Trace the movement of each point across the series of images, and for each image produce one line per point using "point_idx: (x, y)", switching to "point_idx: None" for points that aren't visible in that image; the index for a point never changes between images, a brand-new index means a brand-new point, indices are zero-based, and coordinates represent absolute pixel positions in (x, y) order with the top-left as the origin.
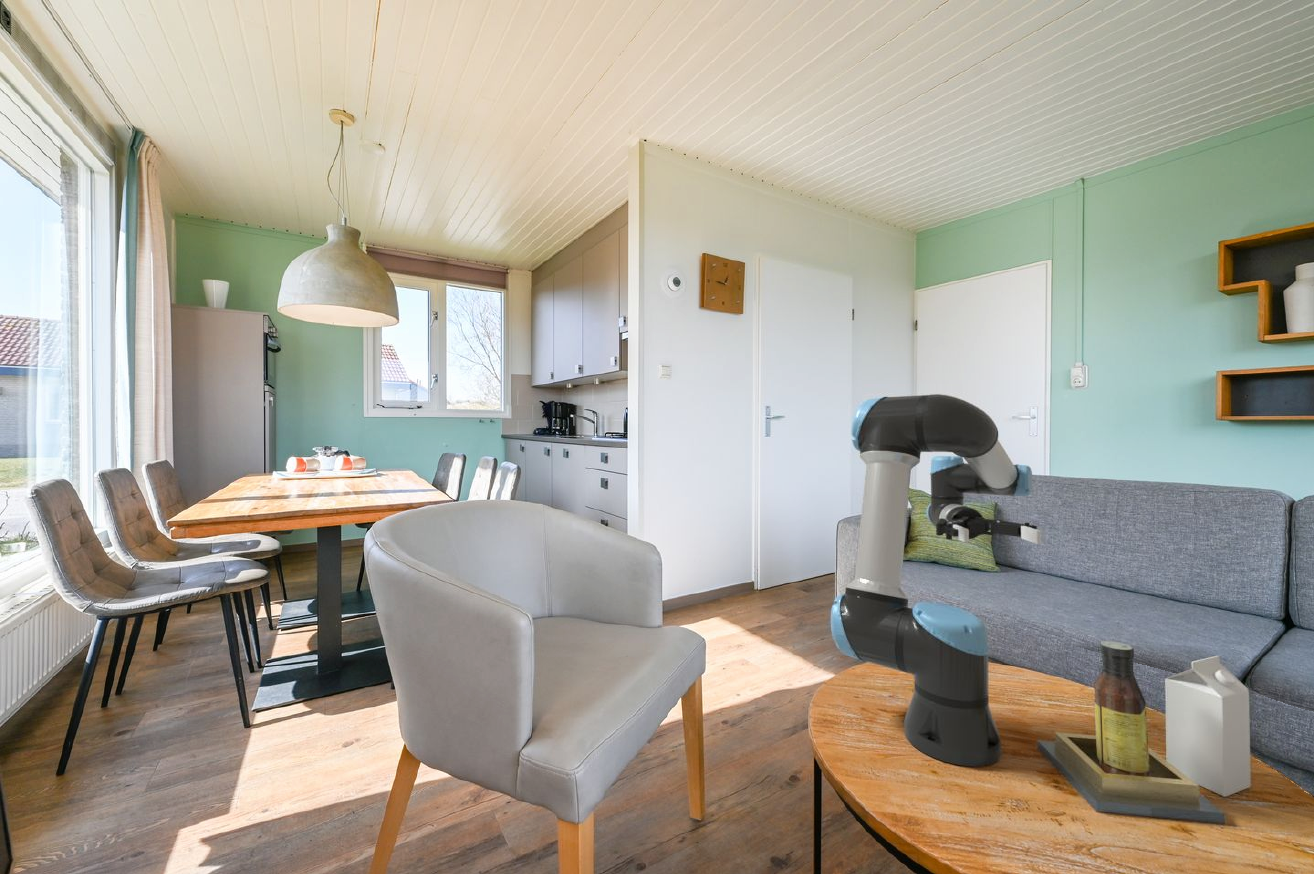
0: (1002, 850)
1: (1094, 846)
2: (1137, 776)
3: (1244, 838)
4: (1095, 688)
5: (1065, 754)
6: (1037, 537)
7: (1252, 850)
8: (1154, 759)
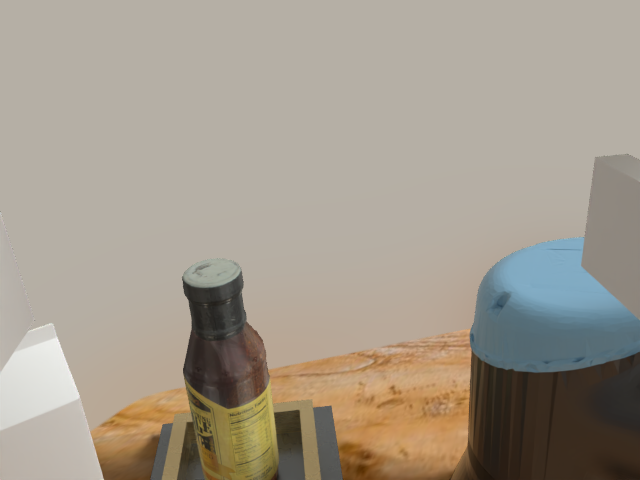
0: (469, 341)
1: (366, 367)
2: None
3: (167, 418)
4: (264, 358)
5: None
6: (15, 268)
7: (179, 402)
8: (179, 472)
